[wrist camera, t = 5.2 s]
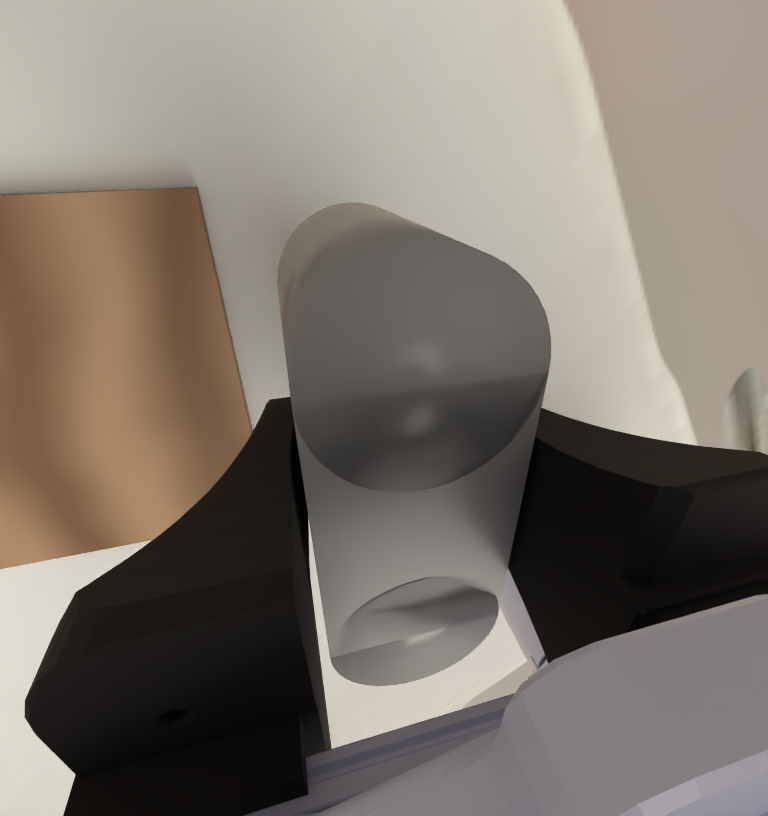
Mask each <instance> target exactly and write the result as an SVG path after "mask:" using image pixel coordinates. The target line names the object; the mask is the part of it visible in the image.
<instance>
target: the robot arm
mask: <svg viewBox="0 0 768 816" xmlns="http://www.w3.org/2000/svg"><path fill="white" fill-rule="evenodd" d="M500 609H501V611H502V613H503V615H504V617H505V619H506V621H507V623H508V625H509V626H510V628H511V630H512V632H513V634H514V636H515V638H516V640H517V642H518V644H519V645H520V647H521V649H522V651H523V653H524V655H525V657H526V659H527V661H528V662H529V664H530V666H531V668H532V670H533V672H534V673H533V674H532V675H530V676H529V677H528V680H526V681H525V682H523V683H522V684H521V685H520V687H519V688H518V690H517V692H516V693H514V694H511V695H508V696H504V697H501V698H498V699H494V700H491V701H488V702H485V703H482V704H478V705H475V706H472V707H468V708H465V709H462V710H458V711H455V712H452V713H448V714H445V715H442V716H439V717H435V718H432V719H429V720H425V721H422V722H419V723H416V724H412V725H409V726H406V727H402V728H399V729H396V730H393V731H389V732H386V733H383V734H380V735H376V736H373V737H370V738H366V739H363V740H360V741H357V742H353V743H350V744H347V745H343V746H340V747H337V748H334V749H331V741H330V733H329V726H328V718H327V710H326V702H325V694H324V686H323V678H322V670H321V662H320V654H319V646H318V638H317V630H316V622H315V614H314V606H313V597H312V589H311V581H310V567H309V531H308V509H307V503H306V496H305V490H304V483H303V477H302V470H301V464H300V457H299V451H298V444H297V438H296V431H295V425H294V418H293V412H292V405H291V397H287V398H279V399H272V400H269V402H268V403H267V404H266V406H265V409H264V411H263V413H262V415H261V417H260V419H259V421H258V423H257V425H256V427H255V429H254V430H253V432H252V434H251V435H250V437H249V439H248V440H247V442H246V444H245V445H244V447H243V448H242V450H241V451H240V452H239V454H238V455H237V457H236V458H235V459H234V461H233V462H232V464H231V465H230V466H229V468H228V469H227V470H226V471H225V473H224V474H223V475H222V476H221V478H220V479H219V480H218V481H217V482H216V483H215V484H214V486H213V487H212V488H211V489H210V490H209V491H208V492H207V493H206V494H205V495H204V496H203V497H202V498H201V499H200V500H199V501H198V502H197V503H196V504H195V505H194V506H192V507H191V508H190V509H189V510H188V511H187V512H186V513H185V514H184V515H183V516H182V517H181V518H180V519H178V520H177V521H176V522H175V523H174V524H172V525H171V526H170V527H169V528H167V529H166V530H165V531H164V532H163V533H161V534H160V535H159V536H157V537H156V538H155V539H154V540H152V541H151V542H150V543H148V544H147V545H146V546H144V547H143V548H142V549H140V550H139V551H137V552H136V553H135V554H133V555H132V556H130V557H129V558H128V559H126V560H125V561H123V562H122V563H120V564H118V565H117V566H115V567H114V568H112V569H111V570H109V571H108V572H106V573H105V574H103V575H102V576H100V577H99V578H97V579H96V580H94V581H93V582H91V583H90V584H88V585H87V586H85V587H83V588H82V589H80V590H78V591H77V592H76V593H75V595H74V597H73V599H72V601H71V602H70V604H69V606H68V608H67V610H66V611H65V613H64V615H63V617H62V619H61V620H60V622H59V624H58V627H57V629H56V631H55V633H54V635H53V637H52V639H51V642H50V644H49V646H48V649H47V651H46V653H45V656H44V658H43V660H42V662H41V665H40V667H39V669H38V672H37V674H36V676H35V679H34V681H33V683H32V686H31V688H30V690H29V692H28V695H27V697H26V699H25V718H26V720H27V722H28V723H29V725H30V726H31V728H32V730H33V731H34V733H35V734H36V735H37V736H38V737H39V738H40V739H41V740H42V741H43V742H44V743H45V744H46V745H47V746H48V747H49V748H50V749H51V750H52V751H53V752H54V753H55V754H56V755H57V756H58V757H59V758H60V759H61V760H62V761H63V762H64V763H65V764H66V765H67V766H68V767H69V768H70V769H71V770H72V771H73V772H74V773H75V774H76V776H75V779H74V782H73V786H72V789H71V792H70V796H69V799H68V802H67V805H66V809H65V812H64V815H63V816H768V455H766V454H763V453H761V452H753V451H743V450H733V449H723V448H712V447H703V446H695V445H688V444H681V443H675V442H668V441H662V440H657V439H651V438H646V437H640V436H636V435H631V434H627V433H622V432H618V431H614V430H609V429H606V428H602V427H598V426H594V425H591V424H588V423H584V422H581V421H578V420H574V419H571V418H568V417H565V416H562V415H559V414H556V413H554V412H551V411H548V410H546V409H543V408H541V411H540V415H539V420H538V425H537V430H536V435H535V439H534V444H533V449H532V454H531V458H530V463H529V468H528V473H527V478H526V482H525V487H524V492H523V497H522V501H521V506H520V511H519V516H518V521H517V525H516V530H515V535H514V540H513V544H512V549H511V554H510V559H509V564H508V568H507V573H506V578H505V583H504V587H503V592H502V597H501V602H500Z"/></svg>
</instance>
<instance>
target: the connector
mask: <svg viewBox="0 0 768 816" xmlns="http://www.w3.org/2000/svg"><path fill="white" fill-rule="evenodd" d="M277 282H278V293H279V302H280V310H281V319H282V328H283V336H284V345H285V353H286V362H287V370H288V379H289V388H290V396H291V405H292V412H293V418H294V425H295V431H296V438H297V444H298V451H299V457H300V464H301V470H302V477H303V483H304V490H305V496H306V503H307V509H308V516H309V522H310V529H311V535H312V542H313V548H314V555H315V561H316V568H317V574H318V581H319V587H320V594H321V600H322V607H323V613H324V620H325V626H326V633H327V639H328V646H329V652H330V658H331V662H332V665H333V667H334V668H335V670H336V671H337V672H338V673H339V674H340V675H341V676H343V677H344V678H346V679H348V680H350V681H352V682H356V683H359V684H364V685H374V686H387V685H396V684H402V683H407V682H411V681H415V680H418V679H422V678H425V677H427V676H430V675H433V674H435V673H437V672H439V671H442V670H444V669H446V668H448V667H449V666H451V665H453V664H455V663H456V662H458V661H460V660H461V659H463V658H464V657H465V656H467V655H468V654H469V653H471V652H472V651H473V650H474V649H475V648H476V647H477V646H478V645H479V644H480V643H481V642H482V641H483V640H484V639H485V638H486V637H487V635H488V634H489V633H490V631H491V629H492V628H493V626H494V624H495V622H496V619H497V616H498V611H499V607H500V602H501V597H502V592H503V587H504V583H505V578H506V573H507V568H508V564H509V559H510V554H511V549H512V544H513V540H514V535H515V530H516V525H517V521H518V516H519V511H520V506H521V501H522V497H523V492H524V487H525V482H526V478H527V473H528V468H529V463H530V458H531V454H532V449H533V444H534V439H535V435H536V430H537V425H538V420H539V415H540V411H541V406H542V401H543V396H544V391H545V387H546V382H547V377H548V372H549V366H550V359H551V338H550V330H549V324H548V321H547V317H546V314H545V311H544V309H543V306H542V304H541V302H540V300H539V298H538V296H537V295H536V293H535V292H534V290H533V289H532V287H531V286H530V284H529V283H528V282H527V281H526V280H525V279H524V278H523V277H522V276H521V275H520V274H519V273H518V272H517V271H516V270H514V269H513V268H512V267H510V266H509V265H508V264H506V263H505V262H503V261H501V260H499V259H497V258H495V257H493V256H491V255H489V254H487V253H484V252H482V251H480V250H477V249H475V248H473V247H470V246H468V245H466V244H463V243H461V242H459V241H456V240H454V239H452V238H449V237H447V236H445V235H442V234H440V233H438V232H435V231H433V230H431V229H428V228H426V227H424V226H421V225H419V224H417V223H414V222H412V221H410V220H407V219H405V218H403V217H400V216H398V215H395V214H393V213H391V212H388V211H386V210H384V209H381V208H379V207H376V206H373V205H369V204H363V203H343V204H337V205H333V206H330V207H327V208H325V209H323V210H320V211H318V212H317V213H315V214H313V215H312V216H310V217H309V218H308V219H307V220H305V221H304V222H303V223H302V224H301V225H300V226H299V227H298V228H297V229H296V230H295V231H294V233H293V234H292V236H291V237H290V239H289V240H288V242H287V244H286V246H285V248H284V250H283V253H282V256H281V259H280V263H279V269H278V281H277Z"/></svg>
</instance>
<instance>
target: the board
mask: <svg viewBox="0 0 768 816" xmlns="http://www.w3.org/2000/svg"><path fill="white" fill-rule="evenodd" d="M252 432H253V431H252V427H251V422H250V418H249V413H248V409H247V405H246V400H245V396H244V391H243V387H242V383H241V378H240V374H239V369H238V365H237V360H236V356H235V352H234V347H233V343H232V338H231V334H230V330H229V325H228V321H227V316H226V312H225V308H224V303H223V299H222V294H221V290H220V286H219V281H218V277H217V272H216V268H215V264H214V259H213V255H212V250H211V246H210V241H209V237H208V233H207V228H206V224H205V219H204V215H203V211H202V206H201V202H200V197H199V193H198V189H197V187H189V188H164V189H138V190H113V191H88V192H62V193H37V194H12V195H0V569H3V568H8V567H14V566H19V565H24V564H29V563H34V562H40V561H45V560H50V559H55V558H60V557H66V556H71V555H76V554H81V553H87V552H92V551H97V550H102V549H107V548H113V547H118V546H123V545H128V544H133V543H139V542H144V541H149V540H154V539H155V538H156V537H157V536H159V535H160V534H161V533H163V532H164V531H165V530H166V529H167V528H169V527H170V526H171V525H172V524H174V523H175V522H176V521H177V520H178V519H180V518H181V517H182V516H183V515H184V514H185V513H186V512H187V511H188V510H189V509H190V508H191V507H192V506H194V505H195V504H196V503H197V502H198V501H199V500H200V499H201V498H202V497H203V496H204V495H205V494H206V493H207V492H208V491H209V490H210V489H211V488H212V487H213V486H214V484H215V483H216V482H217V481H218V480H219V479H220V478H221V476H222V475H223V474H224V473H225V471H226V470H227V469H228V468H229V466H230V465H231V464H232V462H233V461H234V459H235V458H236V457H237V455H238V454H239V452H240V451H241V450H242V448H243V447H244V445H245V444H246V442H247V440H248V439H249V437H250V435H251V434H252Z"/></svg>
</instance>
